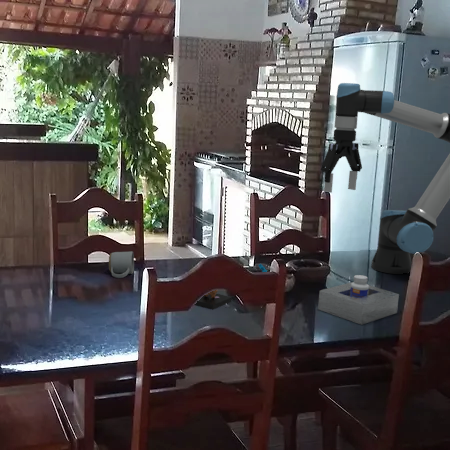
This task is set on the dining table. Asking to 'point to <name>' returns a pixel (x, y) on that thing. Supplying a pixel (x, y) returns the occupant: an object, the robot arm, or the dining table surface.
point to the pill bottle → (359, 287)
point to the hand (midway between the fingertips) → (340, 190)
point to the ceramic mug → (121, 263)
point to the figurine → (213, 300)
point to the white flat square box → (358, 303)
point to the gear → (262, 268)
